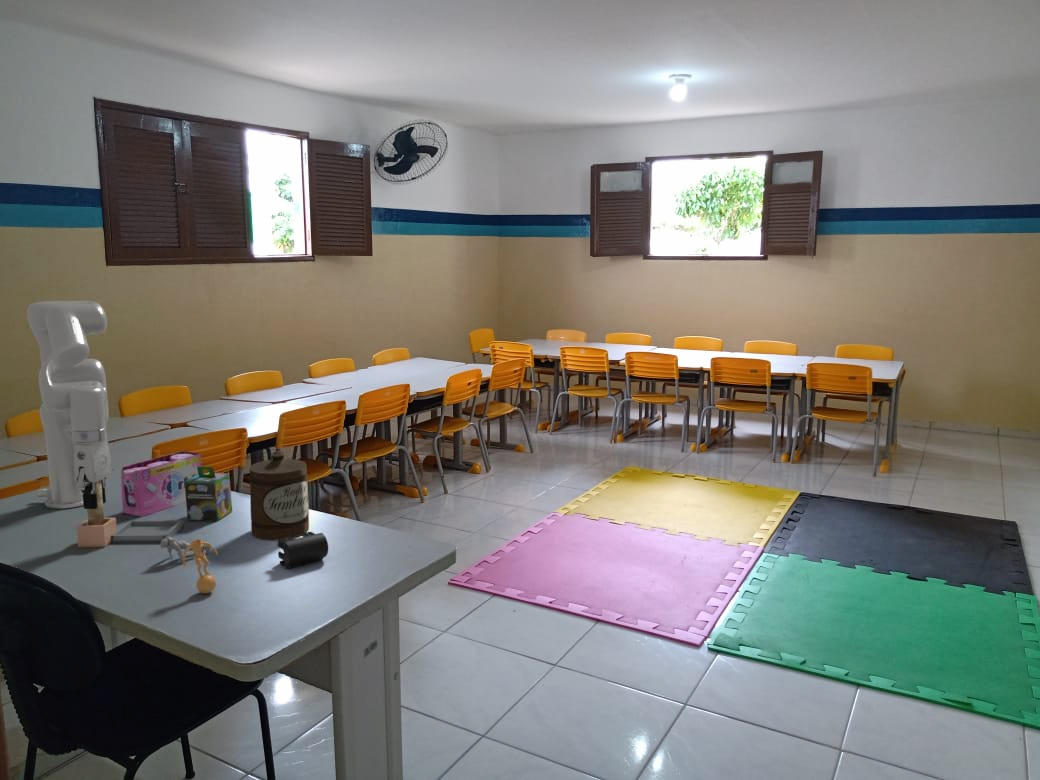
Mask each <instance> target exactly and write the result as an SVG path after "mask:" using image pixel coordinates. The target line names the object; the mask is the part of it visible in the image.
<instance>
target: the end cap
mask: <svg viewBox="0 0 1040 780" xmlns="http://www.w3.org/2000/svg"><path fill="white" fill-rule="evenodd" d="M300 536H301V537H299V538H298V537H297V538H291V537H286V538H282V539H279V540H277V547H278V548H280V549H282V551H283V552H282V551H278V553H277V555H278V558H279V559H281V560H280V561H279V565H280V566H282V567H283V568H285V569H291V568H292V569H293V568H295V567H299V566H302V565H304V566H305V565H306V564H311V563H315V562H318V561H321V560H323V559H325V558H326V557H327V555H328V553H329V543H328V539H327V536H326V535H325V534H324V533H323V532H318V533H314V532H312V531H307V532H306V533H303V534H301V535H300Z"/></svg>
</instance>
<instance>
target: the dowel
mask: <svg viewBox="0 0 1040 780" xmlns="http://www.w3.org/2000/svg"><path fill="white" fill-rule="evenodd" d="M86 481H89V480H88V479H86ZM86 485H87V486H89V487H90V488H91V484H86ZM95 493H97V504H98V508H97V509H86V512H87V519H88V525H103V524H104V518H105V516H104V513H105V512H104V503H103V498H102V484H101V480H100V481H98V482H97V483H95Z"/></svg>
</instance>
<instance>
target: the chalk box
mask: <svg viewBox="0 0 1040 780" xmlns="http://www.w3.org/2000/svg"><path fill="white" fill-rule="evenodd" d="M197 470H198V475H196V476H193V477H191V478H190V479H189V480H187V481H185V494H186V502H185V504H186V515H187V516H186V517H187V520H188V521H203V522H218V521H220V520H221V519H223V518H225V516H227V515H228V514H230V513H231V512H233V505H232V491H231V478H230V473H229V472H226V473H225V472H215V469H214V467H213V466H202V465H201V466H198V467H197ZM205 470H206V471H208V472H203V471H205Z"/></svg>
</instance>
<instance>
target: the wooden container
mask: <svg viewBox="0 0 1040 780" xmlns="http://www.w3.org/2000/svg"><path fill="white" fill-rule="evenodd" d="M284 457H285V453H284V452H283V451H281V450H275V451H273V452H272V453H271V455H270V458H271V459H268V460H262V461H259V462H256V463H253V464H252V465H250V467H249V484H250V485H249V486H250V487H249V489H250V490H249V491H250V497H249V498H250V520H251V521H250V526H251V527H250V528H251V535H252V536H254V537H255V538H256V539H260V540H267V541H278V540H279V539H282V538H286V537H291V538H293V539H295V538H298V537H299V536H301V534H303V533H307V532H309V529H310V515H309V514H310V512H309V507H310V506H309V491H308V475H307V474H308V468H307V466H308V465H307V463H306V462H305V461H303V460H299V459H294V458H293V459H292V458H291V459H290V458H284Z"/></svg>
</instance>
